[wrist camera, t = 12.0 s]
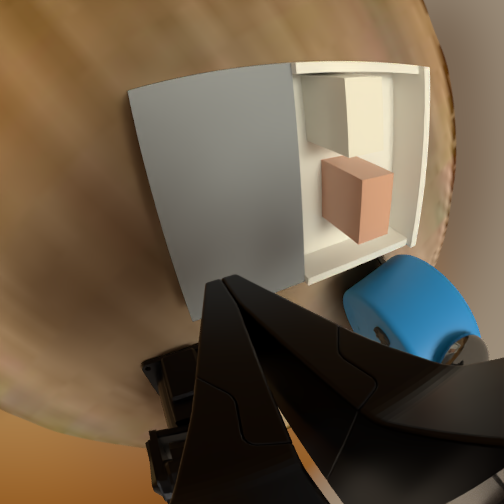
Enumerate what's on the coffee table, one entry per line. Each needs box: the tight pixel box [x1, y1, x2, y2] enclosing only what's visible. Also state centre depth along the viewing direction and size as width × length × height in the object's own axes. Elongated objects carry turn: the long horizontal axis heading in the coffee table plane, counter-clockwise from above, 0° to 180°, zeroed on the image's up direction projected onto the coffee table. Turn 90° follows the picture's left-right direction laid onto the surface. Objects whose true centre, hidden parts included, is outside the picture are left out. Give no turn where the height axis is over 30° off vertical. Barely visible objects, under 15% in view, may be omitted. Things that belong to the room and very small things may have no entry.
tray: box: [276, 61, 430, 285], centre depth 19 cm, size 14×10×4 cm
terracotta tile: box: [321, 156, 394, 245], centre depth 19 cm, size 4×4×2 cm
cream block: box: [300, 72, 383, 158], centre depth 16 cm, size 4×4×2 cm
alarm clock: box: [343, 255, 489, 366], centre depth 23 cm, size 13×6×15 cm, turn 25°
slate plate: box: [128, 63, 305, 322], centre depth 18 cm, size 14×8×2 cm, turn 8°
